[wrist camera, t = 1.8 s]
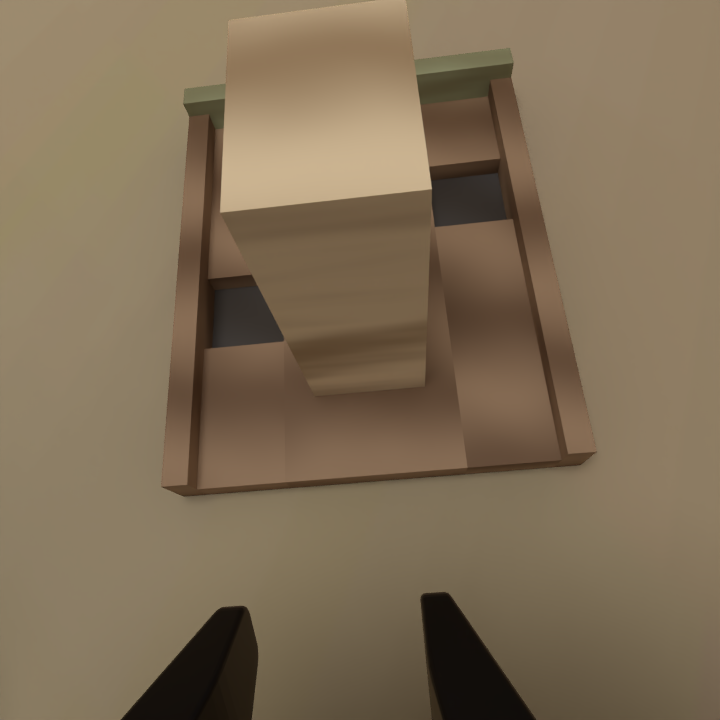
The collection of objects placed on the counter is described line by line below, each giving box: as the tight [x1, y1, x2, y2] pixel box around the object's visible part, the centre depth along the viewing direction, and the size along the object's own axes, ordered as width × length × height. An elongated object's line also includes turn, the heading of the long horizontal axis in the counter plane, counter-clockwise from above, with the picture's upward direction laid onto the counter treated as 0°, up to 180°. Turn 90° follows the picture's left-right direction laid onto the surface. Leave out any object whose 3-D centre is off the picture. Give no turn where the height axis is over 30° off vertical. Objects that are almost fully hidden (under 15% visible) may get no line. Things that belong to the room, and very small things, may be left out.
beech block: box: [220, 0, 432, 396], centre depth 19 cm, size 6×4×12 cm
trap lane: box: [161, 48, 597, 496], centre depth 25 cm, size 20×16×3 cm
